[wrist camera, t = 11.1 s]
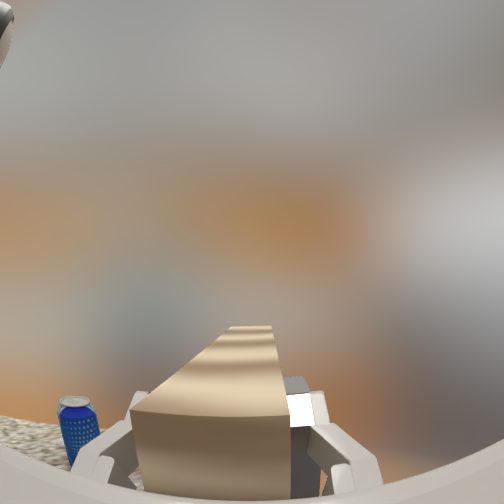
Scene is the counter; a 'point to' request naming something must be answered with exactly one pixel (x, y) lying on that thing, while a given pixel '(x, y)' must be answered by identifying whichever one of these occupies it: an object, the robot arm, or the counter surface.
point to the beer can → (77, 424)
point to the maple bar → (219, 424)
